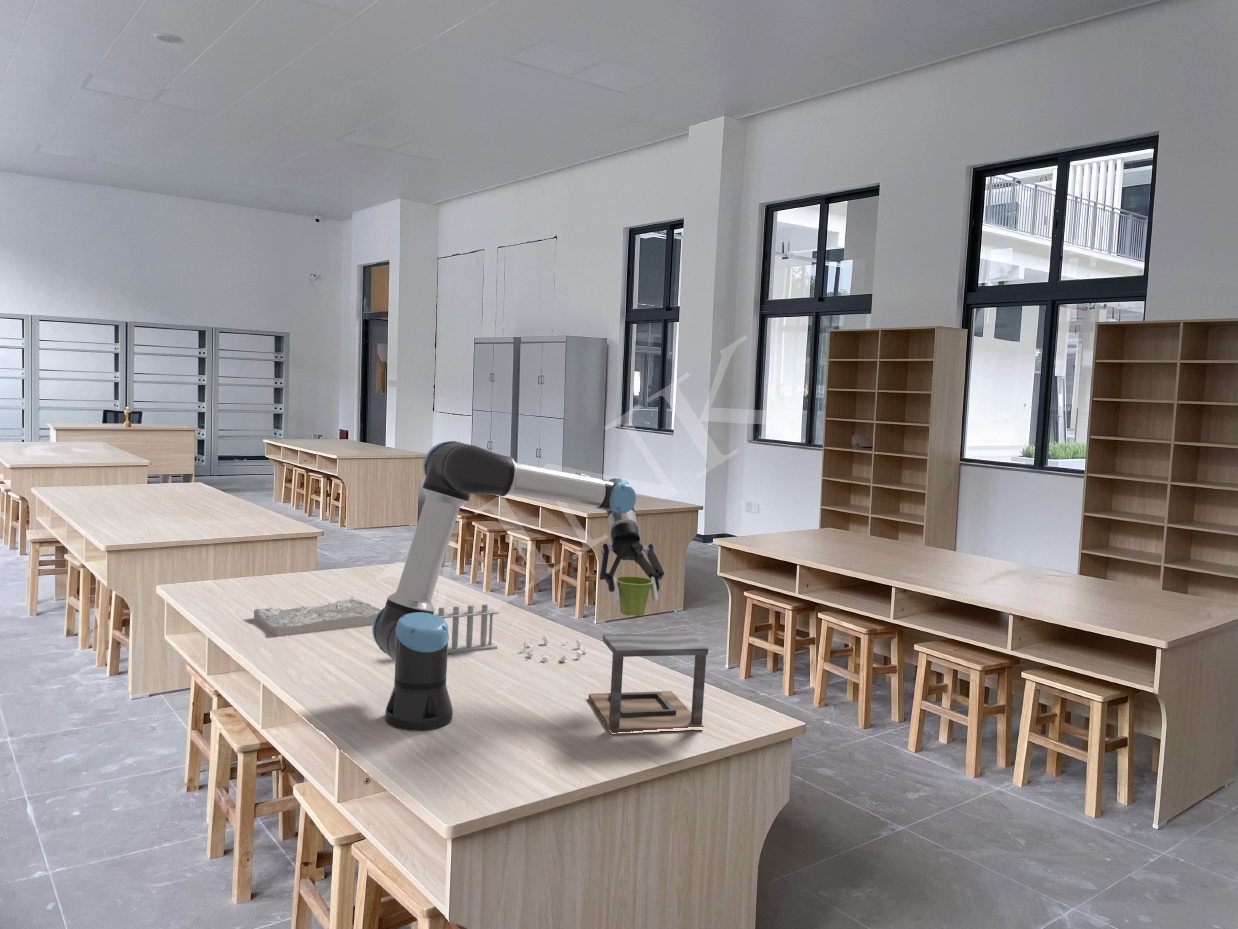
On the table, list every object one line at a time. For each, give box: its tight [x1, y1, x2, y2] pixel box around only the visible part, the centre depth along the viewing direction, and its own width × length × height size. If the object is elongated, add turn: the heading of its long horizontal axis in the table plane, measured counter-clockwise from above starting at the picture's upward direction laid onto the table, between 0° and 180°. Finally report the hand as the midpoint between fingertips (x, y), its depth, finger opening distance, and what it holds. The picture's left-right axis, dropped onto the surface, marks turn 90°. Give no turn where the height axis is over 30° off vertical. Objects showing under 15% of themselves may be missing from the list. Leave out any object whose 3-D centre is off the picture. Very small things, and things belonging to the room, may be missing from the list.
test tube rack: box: [433, 603, 499, 655], centre depth 258 cm, size 25×4×13 cm, turn 120°
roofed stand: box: [588, 632, 709, 733], centre depth 214 cm, size 24×22×20 cm
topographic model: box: [253, 595, 381, 637], centre depth 282 cm, size 23×34×5 cm
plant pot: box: [616, 576, 653, 617], centre depth 226 cm, size 9×9×9 cm
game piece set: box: [520, 634, 588, 663], centre depth 261 cm, size 19×20×4 cm
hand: (636, 601), depth 223 cm, fingers closed on plant pot, 9 cm apart
